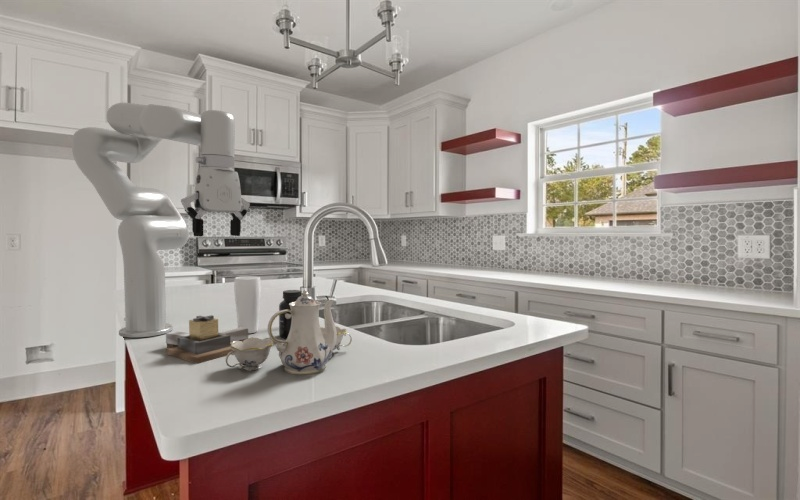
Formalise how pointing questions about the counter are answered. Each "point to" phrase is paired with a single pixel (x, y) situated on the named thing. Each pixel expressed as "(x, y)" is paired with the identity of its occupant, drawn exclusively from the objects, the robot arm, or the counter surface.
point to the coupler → (203, 328)
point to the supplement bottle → (285, 323)
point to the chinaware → (295, 340)
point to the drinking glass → (247, 302)
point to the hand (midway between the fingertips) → (217, 235)
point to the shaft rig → (203, 345)
